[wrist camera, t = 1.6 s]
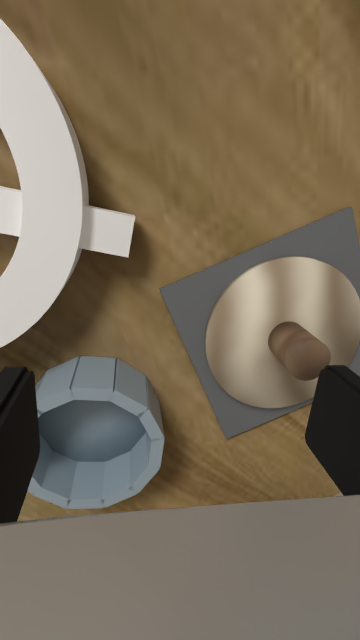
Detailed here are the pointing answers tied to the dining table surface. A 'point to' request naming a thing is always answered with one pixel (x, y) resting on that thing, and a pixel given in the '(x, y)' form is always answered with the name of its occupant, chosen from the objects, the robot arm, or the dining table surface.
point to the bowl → (95, 433)
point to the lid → (281, 330)
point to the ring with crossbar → (44, 195)
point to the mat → (207, 285)
